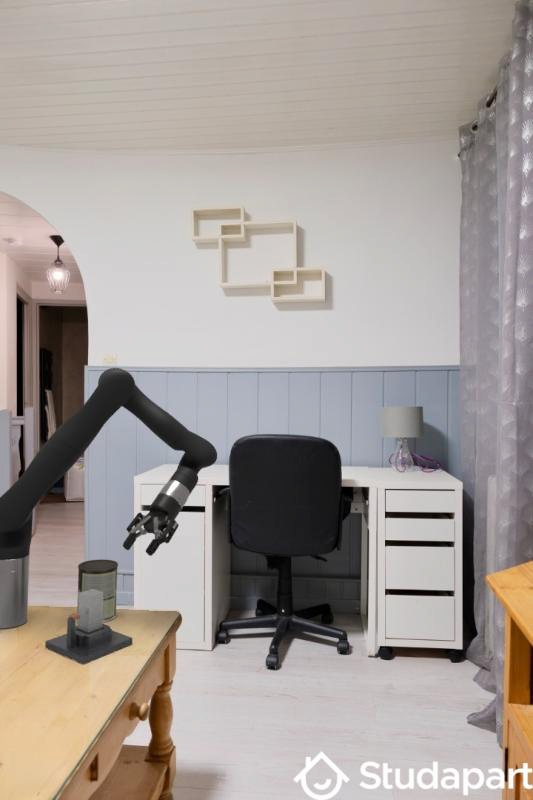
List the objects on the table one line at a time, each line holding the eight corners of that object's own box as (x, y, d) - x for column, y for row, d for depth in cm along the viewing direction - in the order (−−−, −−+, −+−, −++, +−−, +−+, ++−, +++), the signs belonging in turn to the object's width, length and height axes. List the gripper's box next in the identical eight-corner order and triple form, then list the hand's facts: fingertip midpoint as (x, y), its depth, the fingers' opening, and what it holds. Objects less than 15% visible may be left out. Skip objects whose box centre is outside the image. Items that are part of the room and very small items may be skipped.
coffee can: (68, 617, 153) (70, 564, 153) (100, 607, 161) (101, 557, 161) (92, 627, 147) (94, 571, 147) (124, 616, 155) (126, 563, 155)
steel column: (76, 639, 135) (78, 592, 135) (91, 633, 138) (92, 588, 138) (87, 643, 132) (89, 596, 132) (102, 638, 136) (103, 592, 136)
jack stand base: (45, 647, 133) (46, 611, 134) (94, 629, 145) (95, 596, 145) (82, 664, 125) (84, 625, 125) (132, 644, 137) (133, 608, 137)
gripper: (145, 489, 158) (110, 538, 148) (182, 495, 149) (148, 546, 140) (158, 506, 162) (125, 554, 152) (196, 513, 154) (163, 564, 144)
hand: (136, 551), depth 146 cm, fingers open, 8 cm apart
